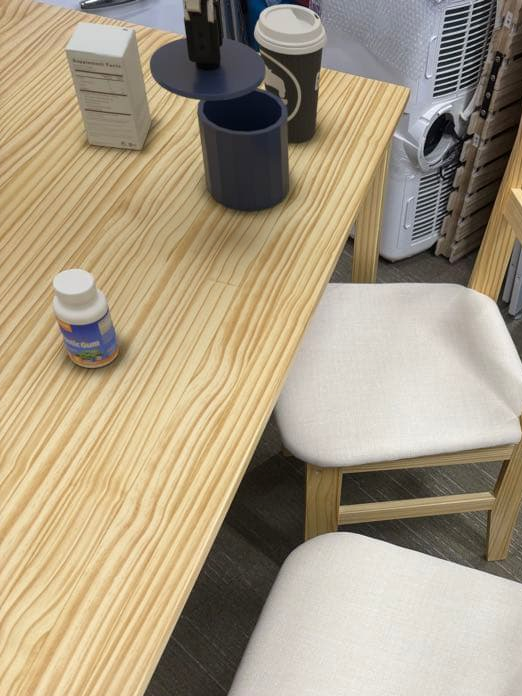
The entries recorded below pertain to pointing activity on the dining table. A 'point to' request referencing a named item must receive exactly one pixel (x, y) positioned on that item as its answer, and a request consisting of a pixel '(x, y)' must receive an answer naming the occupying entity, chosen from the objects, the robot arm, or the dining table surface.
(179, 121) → the dining table surface
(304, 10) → the coffee cup
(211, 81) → the lid
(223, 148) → the tin
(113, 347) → the pill bottle
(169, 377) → the dining table surface
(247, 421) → the dining table surface
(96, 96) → the white packaging box
